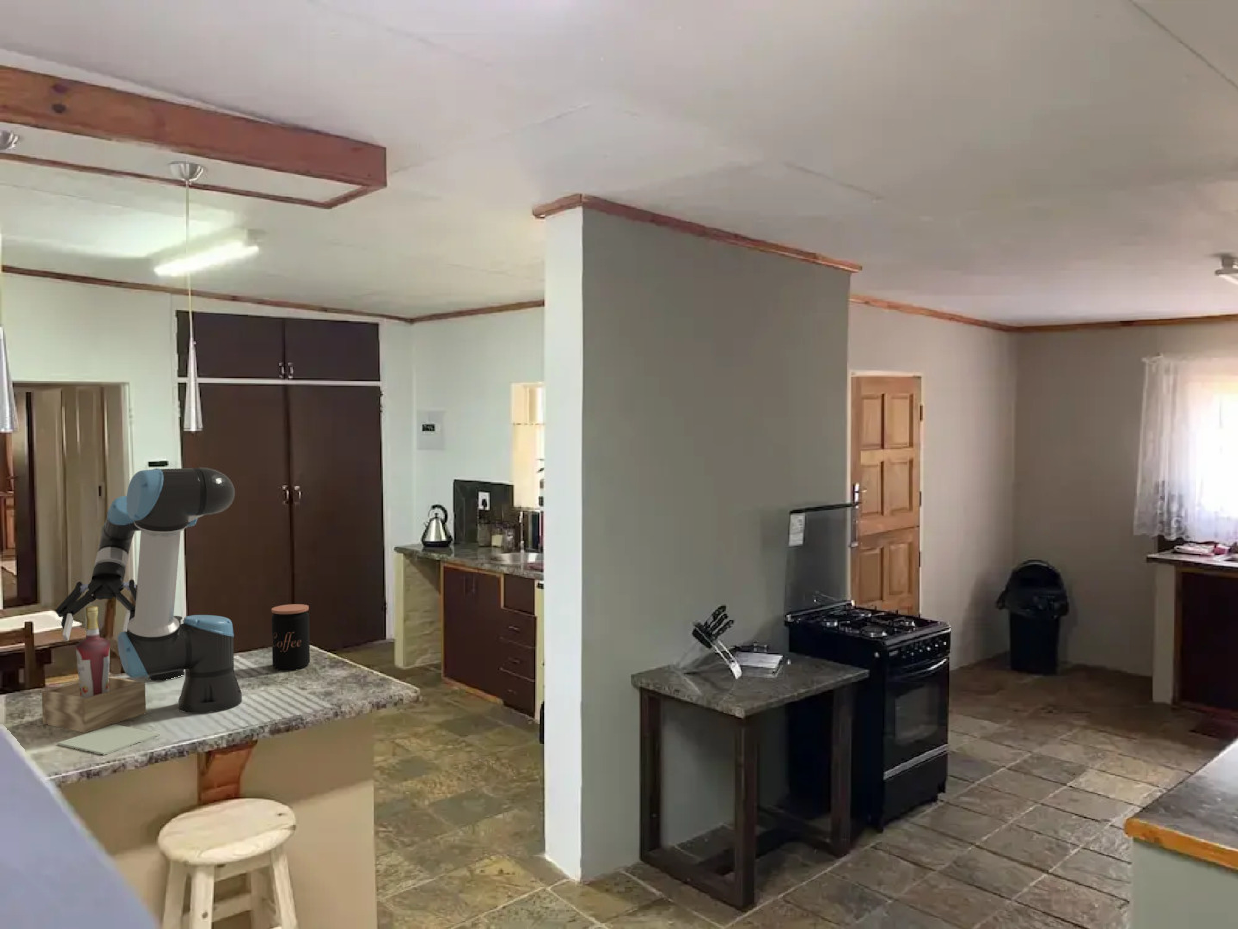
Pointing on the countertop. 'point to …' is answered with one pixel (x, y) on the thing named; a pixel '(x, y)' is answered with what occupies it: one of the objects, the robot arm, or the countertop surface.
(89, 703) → the crate
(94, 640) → the liquor
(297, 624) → the coffee jar
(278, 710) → the countertop surface
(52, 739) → the countertop surface
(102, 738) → the mat
